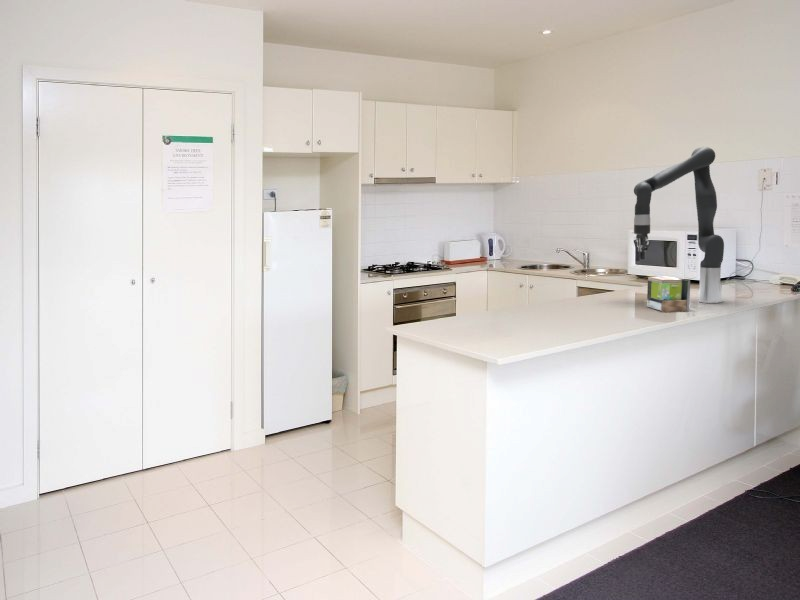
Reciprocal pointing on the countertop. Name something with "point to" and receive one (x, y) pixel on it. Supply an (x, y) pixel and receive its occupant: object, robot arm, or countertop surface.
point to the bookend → (685, 291)
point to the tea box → (663, 290)
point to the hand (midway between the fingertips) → (641, 259)
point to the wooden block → (674, 305)
